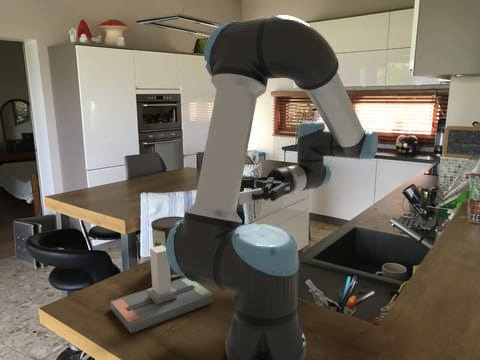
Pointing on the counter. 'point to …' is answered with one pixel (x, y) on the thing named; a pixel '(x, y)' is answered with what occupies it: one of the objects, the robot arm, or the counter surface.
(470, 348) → the counter surface
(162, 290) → the handle
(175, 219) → the coffee can
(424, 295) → the counter surface
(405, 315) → the counter surface
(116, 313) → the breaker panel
